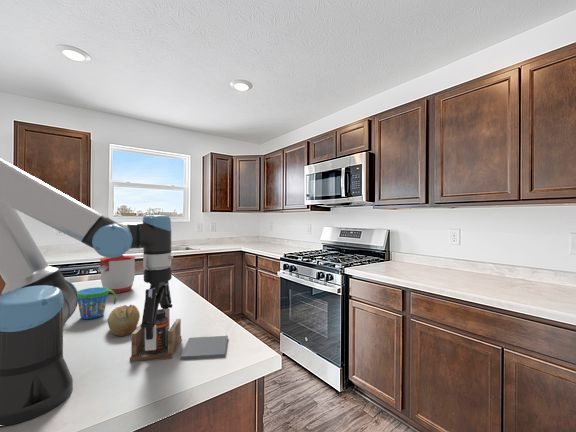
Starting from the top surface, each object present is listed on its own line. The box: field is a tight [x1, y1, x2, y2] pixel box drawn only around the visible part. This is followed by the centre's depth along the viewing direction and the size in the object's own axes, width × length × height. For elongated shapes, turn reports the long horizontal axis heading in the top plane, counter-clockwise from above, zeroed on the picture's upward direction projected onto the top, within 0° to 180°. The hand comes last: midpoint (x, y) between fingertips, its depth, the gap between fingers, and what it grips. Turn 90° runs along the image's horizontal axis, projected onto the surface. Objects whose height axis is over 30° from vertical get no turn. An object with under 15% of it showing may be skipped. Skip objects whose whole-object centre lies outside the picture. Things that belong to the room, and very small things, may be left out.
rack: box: [129, 318, 182, 362], centre depth 85 cm, size 12×11×7 cm
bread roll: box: [107, 304, 141, 337], centre depth 99 cm, size 10×15×8 cm, turn 33°
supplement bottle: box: [147, 308, 170, 354], centre depth 85 cm, size 6×6×11 cm
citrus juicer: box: [97, 254, 136, 294], centre depth 146 cm, size 16×17×20 cm
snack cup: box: [77, 286, 117, 320], centre depth 111 cm, size 16×10×10 cm
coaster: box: [179, 335, 228, 360], centre depth 86 cm, size 12×12×1 cm
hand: (158, 338), depth 85 cm, fingers open, 13 cm apart
